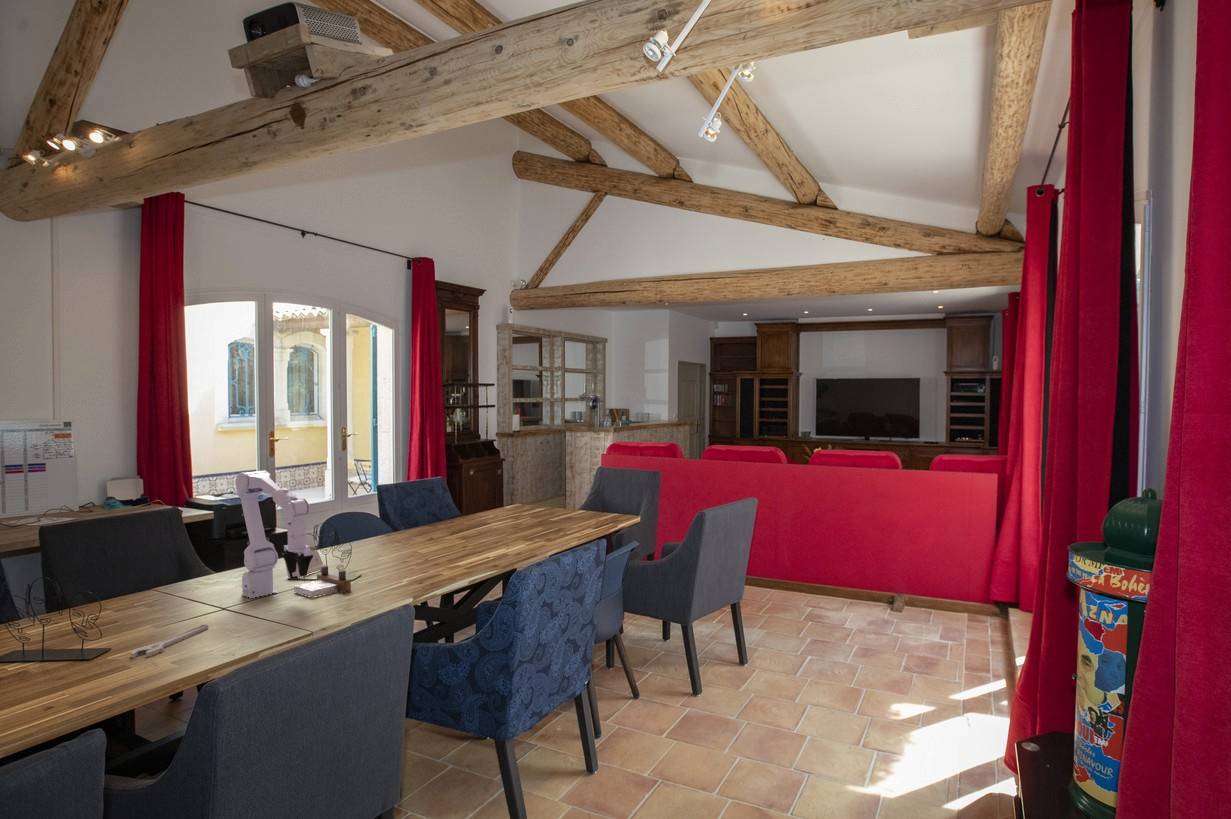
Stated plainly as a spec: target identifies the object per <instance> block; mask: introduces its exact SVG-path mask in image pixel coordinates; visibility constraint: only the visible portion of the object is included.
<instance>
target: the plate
mask: <svg viewBox="0 0 1231 819" xmlns="http://www.w3.org/2000/svg"><path fill="white" fill-rule="evenodd" d="M293 589H294V592H296V593H300V594H303V595H306V596H310V597H314V596H319V595H323V594H327V595H330V594H329V593H331V594H334V593H333V592H335V593H338V592H339V591H338V585H337V584H333V583H330V582H326V581H323V580H318V581H317V580H313V581H310V582H306V583H300V584H297V585H296V584H295V585H294V587H293ZM337 591H338V592H337ZM296 593H295V594H296ZM300 594H299V595H300ZM303 595H302V596H303ZM306 596H305V597H306ZM323 596H324V595H323ZM319 597H320V596H319Z"/></svg>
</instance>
